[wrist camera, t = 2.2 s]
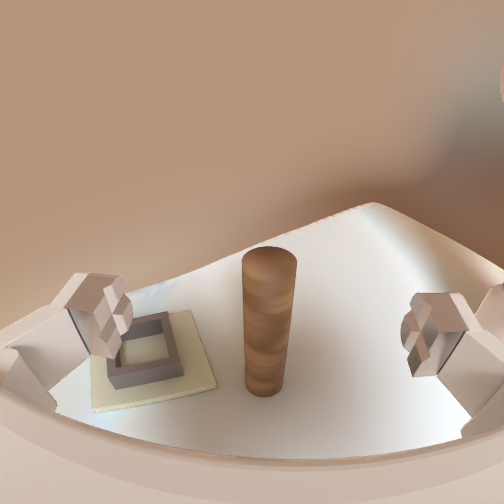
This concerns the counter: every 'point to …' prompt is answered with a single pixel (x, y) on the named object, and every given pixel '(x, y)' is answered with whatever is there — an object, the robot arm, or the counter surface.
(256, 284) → the walnut dowel
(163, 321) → the dowel holder
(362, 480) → the robot arm
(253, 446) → the counter surface
